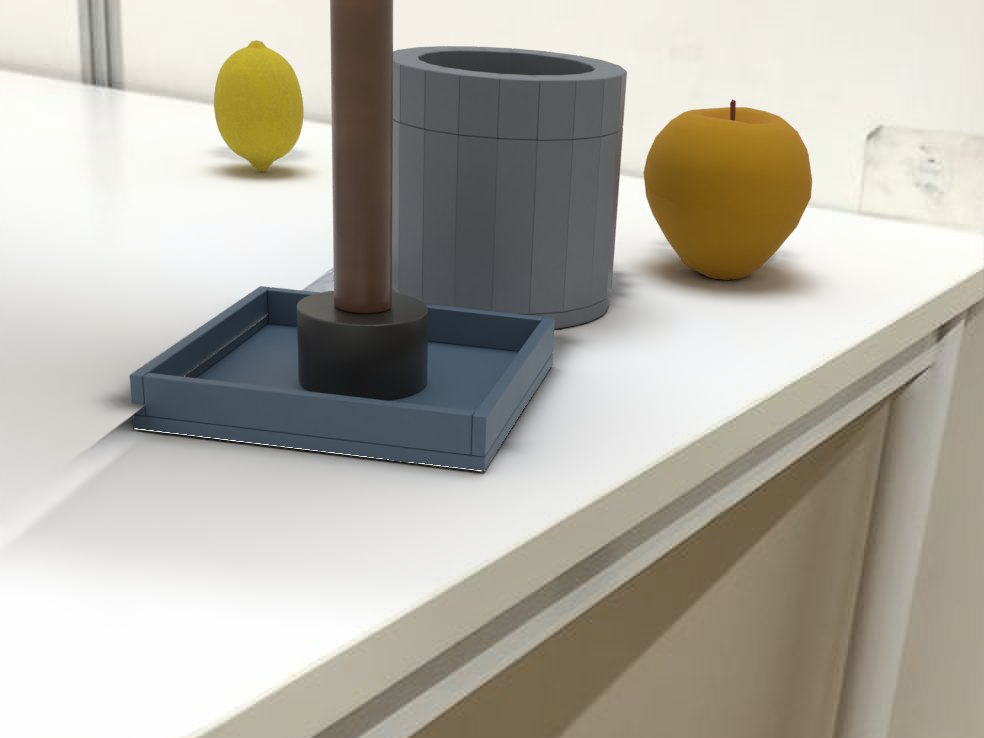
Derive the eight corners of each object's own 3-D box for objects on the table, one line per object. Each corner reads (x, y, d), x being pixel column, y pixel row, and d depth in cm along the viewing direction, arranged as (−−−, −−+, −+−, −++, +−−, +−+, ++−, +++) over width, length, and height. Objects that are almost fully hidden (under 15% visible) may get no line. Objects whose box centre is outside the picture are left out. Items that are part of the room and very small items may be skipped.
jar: (356, 316, 69) (355, 64, 64) (419, 261, 78) (422, 40, 74) (589, 341, 68) (606, 87, 63) (623, 283, 77) (640, 59, 72)
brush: (343, 410, 56) (338, -25, 49) (274, 373, 59) (261, -39, 52) (452, 388, 59) (462, -24, 52) (381, 354, 62) (381, -37, 55)
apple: (674, 243, 86) (688, 80, 82) (822, 269, 83) (845, 100, 79) (609, 274, 79) (621, 97, 75) (769, 304, 76) (791, 120, 72)
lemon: (199, 168, 96) (192, 37, 93) (265, 159, 100) (261, 33, 97) (257, 183, 93) (252, 48, 90) (322, 173, 97) (320, 43, 94)
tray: (133, 430, 54) (128, 374, 53) (261, 332, 66) (259, 285, 65) (484, 473, 53) (486, 416, 52) (552, 365, 64) (555, 317, 63)
